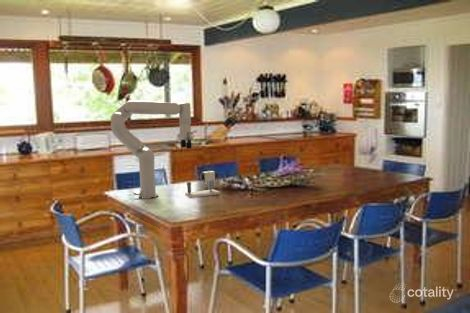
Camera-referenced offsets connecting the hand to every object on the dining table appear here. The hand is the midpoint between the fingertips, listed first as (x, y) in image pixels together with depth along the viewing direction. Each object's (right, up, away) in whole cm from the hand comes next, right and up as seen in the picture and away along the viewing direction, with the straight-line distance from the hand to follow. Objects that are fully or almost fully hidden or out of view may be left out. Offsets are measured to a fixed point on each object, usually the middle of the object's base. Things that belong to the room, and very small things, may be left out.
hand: (186, 147), depth 327 cm
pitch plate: (+11, -31, -2) cm, 32 cm away
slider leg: (+16, -28, 0) cm, 32 cm away
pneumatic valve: (+14, -27, +23) cm, 38 cm away
